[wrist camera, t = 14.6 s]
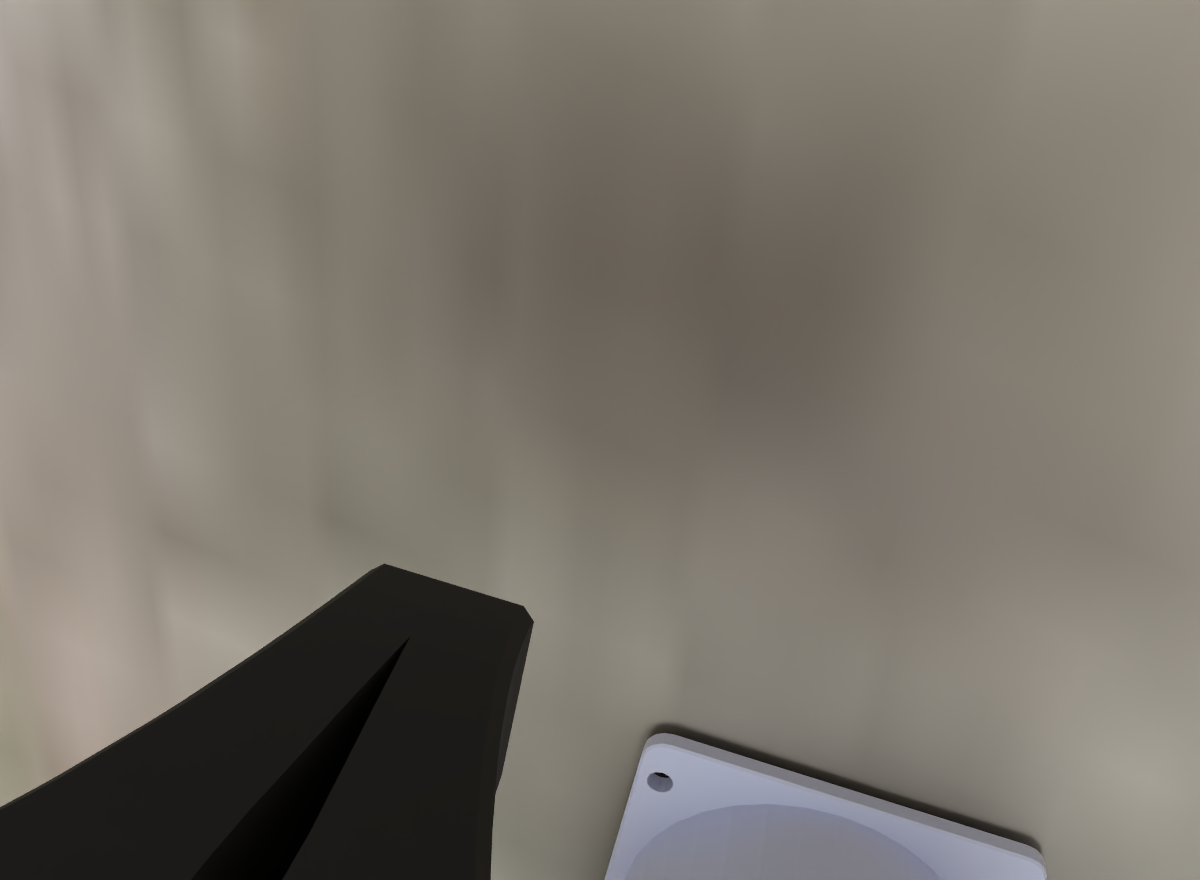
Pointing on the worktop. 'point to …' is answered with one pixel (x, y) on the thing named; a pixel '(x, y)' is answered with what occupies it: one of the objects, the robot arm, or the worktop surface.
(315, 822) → the robot arm
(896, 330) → the worktop surface
